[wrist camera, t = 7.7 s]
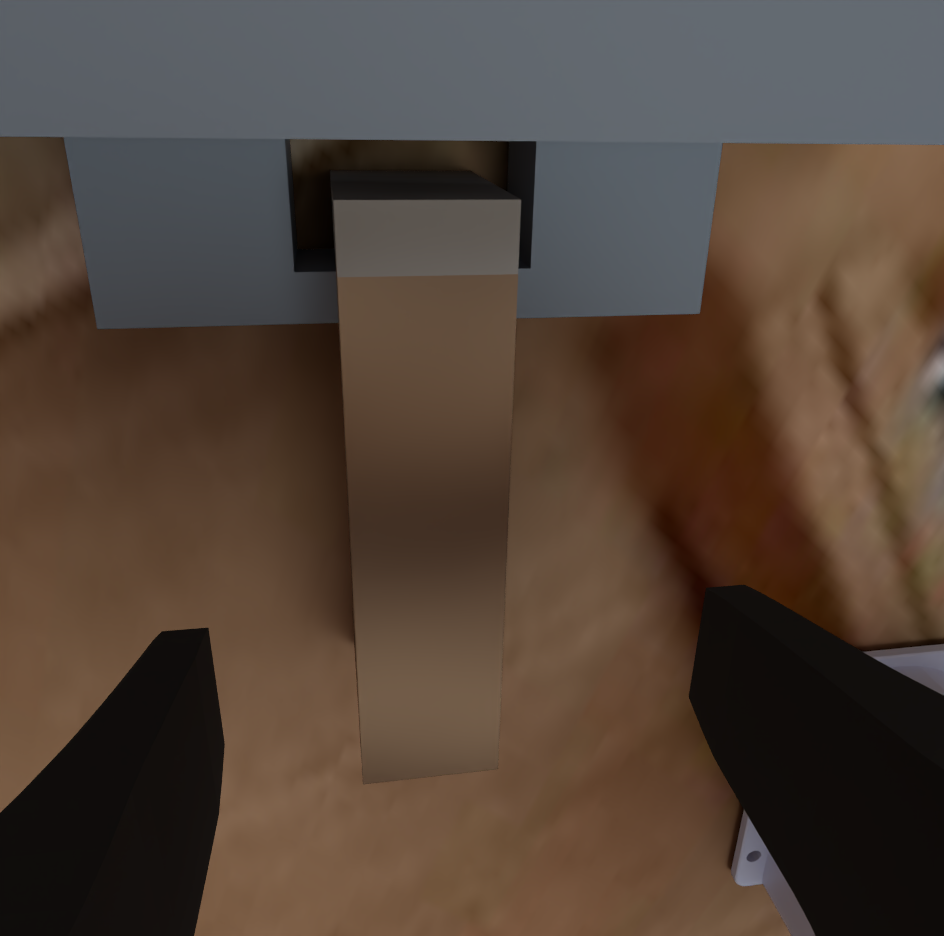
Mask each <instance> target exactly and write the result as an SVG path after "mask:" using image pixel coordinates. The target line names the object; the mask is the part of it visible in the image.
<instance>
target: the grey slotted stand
mask: <svg viewBox="0 0 944 936" xmlns="http://www.w3.org/2000/svg"><path fill="white" fill-rule="evenodd" d="M0 136H1V137H64V143H65V148H66V154H67V160H68V165H69V171H70V177H71V182H72V188H73V194H74V199H75V205H76V211H77V216H78V222H79V228H80V233H81V239H82V245H83V250H84V256H85V262H86V267H87V273H88V279H89V284H90V290H91V296H92V301H93V307H94V313H95V318H96V324H97V329H122V328H161V327H200V326H239V325H278V324H317V323H339V322H338V302H337V283H336V263H335V248H332V249H298V248H297V234H296V219H295V205H294V191H293V176H292V162H291V148H290V139H342V140H455V141H509V151H508V181H507V192H509V193H511V194H512V195H514V196H516V197H518V198H519V199H521V216H520V241H519V266H518V291H517V315H516V318H550V317H589V316H627V315H666V314H700V307H701V300H702V292H703V285H704V277H705V270H706V262H707V255H708V247H709V240H710V233H711V225H712V218H713V210H714V203H715V195H716V188H717V181H718V173H719V166H720V158H721V151H722V143H797V144H910V145H944V0H0Z"/></svg>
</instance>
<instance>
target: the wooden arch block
mask: <svg viewBox="0 0 944 936" xmlns="http://www.w3.org/2000/svg"><path fill="white" fill-rule="evenodd" d="M330 182H331V202H332V221H333V235H334V246H335V263H336V283H337V302H338V322H339V341H340V360H341V380H342V399H343V419H344V438H345V458H346V477H347V497H348V516H349V535H350V555H351V574H352V594H353V626H354V645H355V661H356V678H357V694H358V710H359V726H360V742H361V758H362V775H363V784H371V783H380V782H389V781H397V780H406V779H415V778H424V777H433V776H442V775H450V774H459V773H468V772H477V771H486V770H495V769H498V760H499V736H500V711H501V686H502V661H503V637H504V612H505V587H506V563H507V538H508V513H509V488H510V464H511V439H512V414H513V389H514V365H515V340H516V315H517V291H518V266H519V241H520V216H521V199H519V198H518V197H516V196H514V195H512V194H511V193H509V192H507V191H505V190H503V189H502V188H500V187H498V186H496V185H495V184H493V183H491V182H489V181H488V180H486V179H484V178H482V177H481V176H479V175H477V174H475V173H474V172H472V171H387V170H330Z"/></svg>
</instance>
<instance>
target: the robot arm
mask: <svg viewBox="0 0 944 936" xmlns="http://www.w3.org/2000/svg"><path fill="white" fill-rule="evenodd" d="M689 699H690V701H691V704H692V706H693V709H694V711H695V714H696V716H697V719H698V721H699V724H700V726H701V729H702V731H703V733H704V736H705V738H706V740H707V743H708V745H709V747H710V749H711V752H712V754H713V756H714V758H715V760H716V762H717V764H718V765H719V767H720V769H721V771H722V772H723V774H724V776H725V778H726V779H727V781H728V783H729V785H730V786H731V788H732V790H733V791H734V793H735V795H736V797H737V798H738V800H739V802H740V804H741V805H742V807H743V809H744V811H743V816H742V821H741V826H740V830H739V835H738V840H737V845H736V849H735V854H734V859H733V863H732V868H731V874H732V876H733V878H734V880H735V882H736V883H737V884H738V885H741V886H751V885H758V884H763V885H764V887H765V889H766V890H767V892H768V894H769V896H770V898H771V899H772V901H773V903H774V905H775V907H776V909H777V910H778V912H779V914H780V916H781V918H782V919H783V921H784V923H785V925H786V927H787V928H788V930H789V932H790V934H791V936H944V644H938V645H928V646H917V647H907V648H897V649H886V650H876V651H866V652H862V651H860V650H859V649H857V648H855V647H853V646H852V645H850V644H848V643H846V642H845V641H843V640H841V639H840V638H838V637H836V636H834V635H833V634H831V633H829V632H828V631H826V630H824V629H823V628H821V627H819V626H817V625H816V624H814V623H812V622H811V621H809V620H807V619H806V618H804V617H802V616H800V615H799V614H797V613H795V612H794V611H792V610H790V609H789V608H787V607H785V606H783V605H782V604H780V603H778V602H776V601H775V600H773V599H771V598H769V597H767V596H766V595H764V594H762V593H760V592H758V591H756V590H754V589H752V588H750V587H748V586H746V585H736V586H723V587H711V588H706V592H705V598H704V605H703V611H702V617H701V623H700V630H699V636H698V642H697V648H696V655H695V661H694V667H693V673H692V680H691V686H690V692H689ZM224 745H225V743H224V736H223V729H222V722H221V715H220V708H219V700H218V693H217V686H216V679H215V672H214V665H213V658H212V651H211V644H210V636H209V629H208V628H199V629H186V630H174V631H162V632H161V633H160V634H159V635H158V636H157V637H156V638H155V639H154V640H153V641H152V643H151V644H150V645H149V646H148V648H147V649H146V650H145V651H144V653H143V654H142V655H141V657H140V658H139V659H138V660H137V662H136V663H135V664H134V665H133V667H132V668H131V669H130V670H129V672H128V673H127V674H126V675H125V677H124V678H123V679H122V680H121V682H120V683H119V684H118V685H117V687H116V688H115V689H114V690H113V691H112V693H111V694H110V695H109V696H108V698H107V699H106V700H105V701H104V702H103V703H102V705H101V706H100V707H99V708H98V709H97V710H96V712H95V713H94V714H93V715H92V716H91V717H90V719H89V720H88V721H87V722H86V723H85V724H84V726H83V727H82V728H81V729H80V730H79V731H78V733H77V734H76V735H75V736H74V737H73V738H72V739H71V740H70V742H69V743H68V744H67V745H66V746H65V747H64V748H63V749H62V750H61V751H60V752H59V753H58V754H57V756H56V757H55V758H54V759H53V760H52V761H51V762H50V763H49V764H48V765H47V766H46V767H45V768H44V769H43V770H42V771H41V772H40V773H39V774H38V775H37V777H36V778H35V779H34V780H33V781H32V782H31V783H30V784H29V785H28V786H27V787H26V788H25V789H24V790H23V791H22V792H21V793H20V794H19V795H18V796H17V797H16V798H15V799H14V800H13V801H12V802H11V803H10V804H9V805H8V806H7V807H6V808H5V809H4V810H3V811H2V812H1V813H0V936H194V933H195V928H196V923H197V919H198V914H199V909H200V904H201V899H202V895H203V890H204V885H205V880H206V875H207V870H208V865H209V860H210V856H211V851H212V846H213V841H214V836H215V831H216V826H217V820H218V815H219V806H220V795H221V784H222V772H223V758H224Z"/></svg>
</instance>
